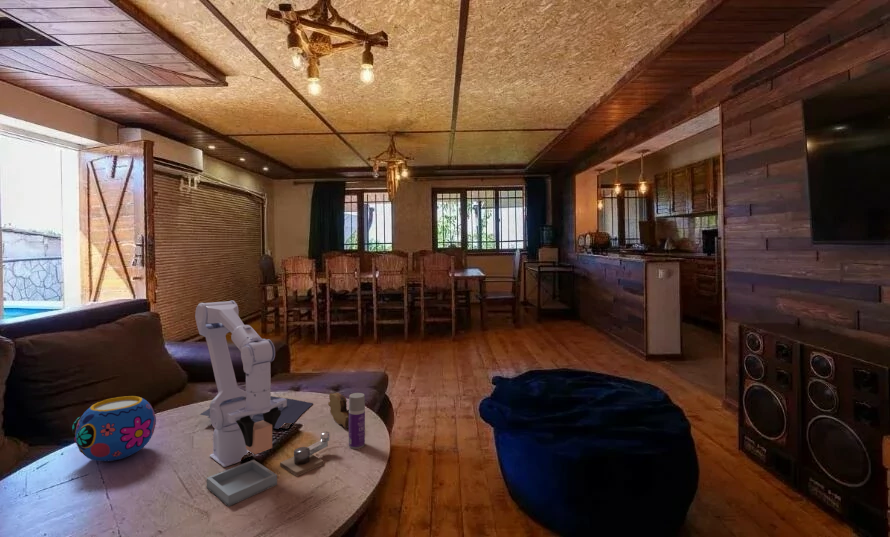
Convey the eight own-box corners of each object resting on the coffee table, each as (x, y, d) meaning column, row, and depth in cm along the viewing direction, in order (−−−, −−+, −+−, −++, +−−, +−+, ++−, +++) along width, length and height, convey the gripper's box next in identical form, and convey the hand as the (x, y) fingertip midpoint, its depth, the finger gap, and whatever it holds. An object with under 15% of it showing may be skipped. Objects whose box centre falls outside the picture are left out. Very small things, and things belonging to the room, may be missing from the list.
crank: (301, 465, 110) (301, 449, 110) (290, 461, 112) (290, 446, 112) (333, 447, 120) (333, 433, 120) (323, 444, 122) (323, 430, 122)
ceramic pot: (70, 456, 116) (69, 402, 115) (148, 436, 129) (147, 388, 128) (79, 480, 104) (78, 421, 103) (163, 455, 117) (163, 402, 116)
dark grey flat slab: (235, 398, 159) (236, 389, 159) (312, 410, 158) (314, 400, 158) (194, 425, 135) (196, 414, 134) (286, 438, 134) (287, 427, 134)
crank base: (279, 466, 112) (280, 461, 112) (306, 454, 118) (306, 451, 118) (296, 476, 107) (296, 472, 107) (323, 464, 113) (323, 460, 113)
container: (361, 449, 122) (361, 398, 121) (345, 447, 123) (346, 397, 122) (367, 442, 126) (367, 393, 126) (352, 440, 127) (352, 392, 127)
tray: (206, 487, 101) (206, 477, 101) (253, 468, 110) (253, 459, 110) (228, 506, 94) (228, 495, 94) (277, 484, 103) (277, 474, 103)
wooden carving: (358, 429, 136) (358, 398, 135) (345, 433, 133) (345, 402, 132) (335, 414, 148) (336, 386, 148) (323, 417, 145) (323, 388, 145)
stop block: (246, 448, 106) (245, 425, 106) (263, 442, 109) (262, 420, 109) (255, 454, 103) (255, 430, 103) (272, 447, 107) (272, 424, 106)
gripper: (237, 400, 98) (237, 457, 98) (293, 385, 109) (293, 436, 110) (223, 393, 102) (223, 448, 102) (278, 379, 113) (278, 429, 114)
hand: (258, 441), depth 106 cm, fingers closed on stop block, 4 cm apart
